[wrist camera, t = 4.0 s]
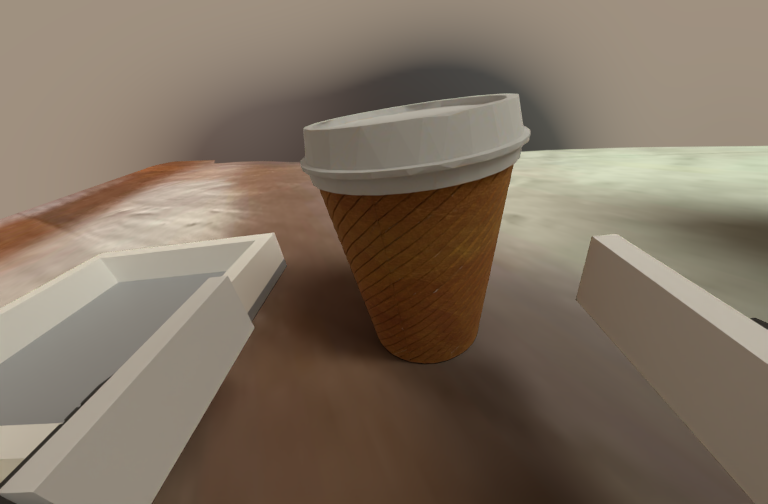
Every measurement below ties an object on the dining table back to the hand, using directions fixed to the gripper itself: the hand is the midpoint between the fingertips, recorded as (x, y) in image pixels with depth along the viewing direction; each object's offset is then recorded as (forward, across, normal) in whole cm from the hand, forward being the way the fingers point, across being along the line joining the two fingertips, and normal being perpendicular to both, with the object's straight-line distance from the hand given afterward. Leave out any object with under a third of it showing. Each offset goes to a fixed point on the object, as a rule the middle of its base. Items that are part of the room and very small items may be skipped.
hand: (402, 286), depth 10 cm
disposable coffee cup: (+5, +1, -7) cm, 8 cm away
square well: (+5, -20, -6) cm, 22 cm away
